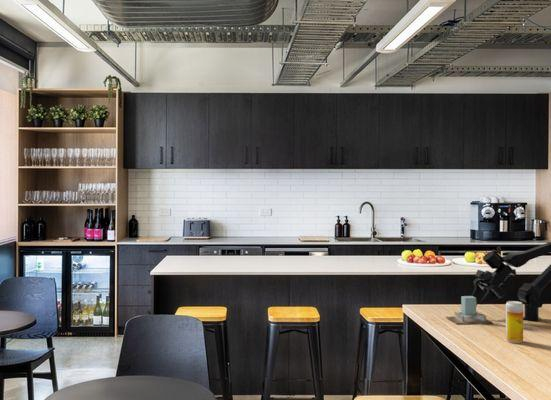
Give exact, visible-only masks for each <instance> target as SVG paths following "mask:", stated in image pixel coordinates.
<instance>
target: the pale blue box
mask: <svg viewBox="0 0 551 400" xmlns="http://www.w3.org/2000/svg"><path fill="white" fill-rule="evenodd" d="M460 301H461V303H460V305H461V311H460V312H461V315H463V316H476V315H477V312H478V311H477V306H478V302H477V298H475V297H473V296H472V295H464V296H463V295H462V296H461V298H460Z"/></svg>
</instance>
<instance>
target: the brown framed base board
mask: <svg viewBox="0 0 551 400" xmlns="http://www.w3.org/2000/svg"><path fill="white" fill-rule="evenodd" d="M476 312H477V315H476V316H463V315H461V311H455V312H454V316H445V319H447V320H448V321H450V322H452V323H454V324H455V325H459V326H461V325H490V324H494V322H493V321H491V320H490V319H487V315H486V314H483V313H482V312H480V311H476Z"/></svg>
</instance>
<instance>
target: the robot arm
mask: <svg viewBox="0 0 551 400" xmlns="http://www.w3.org/2000/svg"><path fill="white" fill-rule="evenodd" d="M550 253H551V241H548V242H546V243H543V244H541V245H538V246H535V247H532V248H529V249H526V250H524V251H515V252H510V253H507V254H506V255H504V256H502V255H500V254H499V252H498V251H497V250H495V249H492V250H491V251H489V252H487V253H485V254H484V255H483V256H482V260H483V261H484V262H485V264H487V265H488V266H489V268H490V269H493V270H494V271H493V272H491V271H489V270H485V271H483V270H480V269H477V271H476V273H475V275H474V276H475V277H476V278H475V279H474V280H473V281H472V282H473V285H474V290H473V291H472V294H471V296H473V297H475V298H476V299H477V298H479V297H480V296H482V295H484V294H485V295H484V296H483V297H482V299H481V300H480V302H479V303H480V305H485V304H486V303H489V302H492V301H494V300H495V301H496V300H497V299H502V298H503V297H505V293H506V292H505V290H503V289H502V288H501V287H500V286H501V285H505V283H506V282H505V281H506V280H507V279H508V277H510V276H511V275H512V276H515V277H516V276H517V271H516V270H517V269H518V268H520V267H522V266H524V265H526V264H527V263H528V262H529V261H531V260H533V259H536V258H539V257H541V256H544V255H545V256H546V255H547V254H550ZM512 267H514V268H517V269H514V268H512ZM550 282H551V263H550V264H549V265H548V266H547V267H546V268H545V269H544V270H543V272H541V273H540V275H539V276H537V278H535V279H534V280H533V281H532V282H531V283H527V282H525V283H523V284H522V286H521V287H519V288H518V291H517V297H518V300H520V302H521V303H522V305H524V307H523V321H530V322H539V321H541V320H542V317H540V316H539V315H540V313H539V310H540V309H539V308H542V307H543V304H544V302H543V301H542V300H541V299H540V296H541V294H542V291H543V290H544V288H545V287H547V285H548V284H549V283H550Z"/></svg>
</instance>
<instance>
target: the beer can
mask: <svg viewBox="0 0 551 400" xmlns="http://www.w3.org/2000/svg"><path fill="white" fill-rule="evenodd" d="M523 317H524V304H522V303H521V301H517V300H508V301H506V303H505V340H506V341H507V342H508V343H509V344H510V343H511V344H521V343H523V341H524V319H523Z"/></svg>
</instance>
